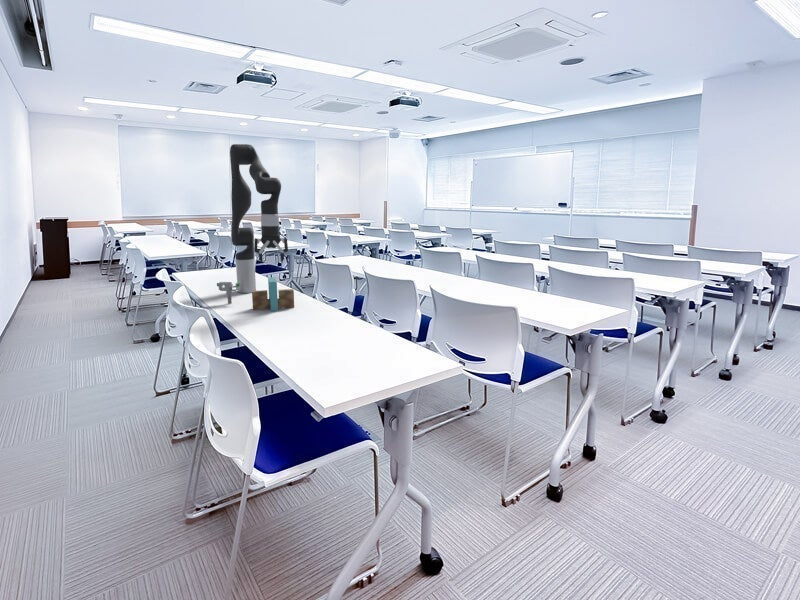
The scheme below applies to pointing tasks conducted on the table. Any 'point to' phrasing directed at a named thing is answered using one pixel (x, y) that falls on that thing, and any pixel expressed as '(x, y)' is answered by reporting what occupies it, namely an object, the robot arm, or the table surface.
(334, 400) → the table surface
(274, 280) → the teal notched block
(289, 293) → the walnut slotted plate
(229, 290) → the mechanical component
